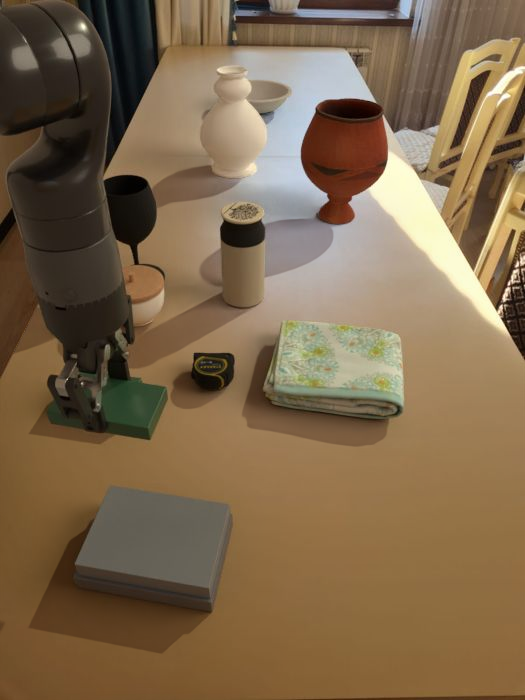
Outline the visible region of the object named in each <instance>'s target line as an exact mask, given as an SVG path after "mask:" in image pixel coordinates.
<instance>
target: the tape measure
mask: <svg viewBox="0 0 525 700" xmlns="http://www.w3.org/2000/svg"><path fill="white" fill-rule="evenodd" d="M192 357H193V358H192V359H193V360H192V361H193V362H192V367H191V371H190V378H191V380H192V381H194V383H195V384H196V385H197V386H198V387H199V388H200V389H204V390H207V391H217V390H220V389H221V390H222V389H224V388H226V387H228V386H229V385H230V384H231V383H232V382H233V380H234V377H235V362H236V359H235V355H234V354H233V353H231V352H193V356H192Z"/></svg>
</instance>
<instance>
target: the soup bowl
mask: <svg viewBox="0 0 525 700" xmlns="http://www.w3.org/2000/svg"><path fill="white" fill-rule="evenodd" d="M247 80H248V81H249V82H250V84H251V92H250V93H249V95H248V96H247V97H246V98H245V99H246V100H247V101H248V102H249V103H250V104H251V105H252V106H253V107H254V108H255V109H256V111H257V112H258V113H259V114H266V113H271V112H273V111H275V110H277V109H278V108H280V107H281V106H282V105H283V104H284V103H285V101H286V100H287V99H288V98H289V97H291V96H292V94H293V88H291V87H290V86H289V85H288V84H285V83H282V82H279V81H274V80H268V79H247Z"/></svg>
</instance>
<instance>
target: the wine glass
mask: <svg viewBox="0 0 525 700" xmlns="http://www.w3.org/2000/svg"><path fill="white" fill-rule="evenodd" d="M103 181H104V186H105V192H106V196H107V202H108V208H109V213H110V219H111V225H112V229H113V232H114V235H115V238H116V241H117V242H119V243H122V244H124V245H127V246H129V248H130V250H131V254H132V259H133V265H143V266H149V267H152V268H154V269H156V270H158V271H159V272H160V273H161V274H162V276H163V278H164V281H166V280H165V279H166V275H165V272H164V270H163V269H162V268H160V267H159V266H157V265H155V264H150V263H140V260H139V251H138V246H139V244H141V243H142V242H143V241H145V240H146V239H147V238H148V237H149V236H150V234H152V232H153V230H154V228H155V226H156V223H157V218H158V217H157V216H158V208H157V201H156V198H155V196H154V193H153V190H152V187H151V185H150V183H149V181H148V179H146V178H145V177H142V176H140V175H136V174H119V175H113V176H110V177H108V178H105V179H103ZM131 265H132V264H130V265H129V266H131Z"/></svg>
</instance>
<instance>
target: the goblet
mask: <svg viewBox="0 0 525 700" xmlns="http://www.w3.org/2000/svg"><path fill="white" fill-rule="evenodd" d="M314 111H315V112H314V114H313V116H312V118H311V121H310V123H309V124H308V127H307V129H306V130H305V133H304V136H303V139H302V142H301V146H300V162H301V166H302V169H303V171H304V173H305V175H306V177H307V178H308V180H309V181H310V182H311V183H312V184H313V185H314V187H316V188H317V189H318V190H319V191H321V192H323V193H324V194H326V197H327V199H328V200H327V202H326V203H324V204H323V205H322V206H321V207H320V208H319V210H318V212H317V216H318V218H319V219H321V221H324V222H326V223H328V224H333V225H343V224H349V223H351V222H352V221H354V219H355V217H356V214H355V211H354V209H353V207H352V206H351V204H350V202H351V201H352V200H353V197H354V196H357V195H360V194H362V193H363V192H365V191H367V190H368V189H369V188H371V187H372V186H373V185H375V183H377V182H378V180H379V179H380V178H381V177H382V175H383V174H384V173H385V170H386V167H387V165H388V160H389V143H388V135H387V131H386V127H385V121H384V114H385V109H384V106H382V105H381V104H379V103H377V102H374V101H371V100H368V99H362V98H361V99H360V98H351V97H349V98H348V97H345V98H338V99H337V98H335V99H332V98H331V99H324V100H323V101H321V102H319V103H318V104H317V105H316V106H315V108H314Z"/></svg>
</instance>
